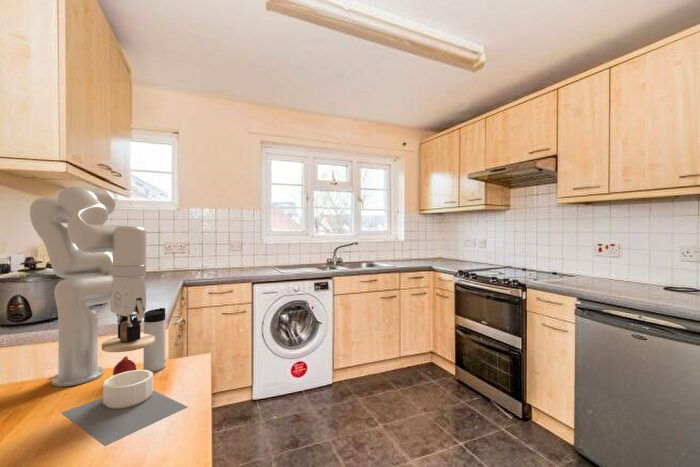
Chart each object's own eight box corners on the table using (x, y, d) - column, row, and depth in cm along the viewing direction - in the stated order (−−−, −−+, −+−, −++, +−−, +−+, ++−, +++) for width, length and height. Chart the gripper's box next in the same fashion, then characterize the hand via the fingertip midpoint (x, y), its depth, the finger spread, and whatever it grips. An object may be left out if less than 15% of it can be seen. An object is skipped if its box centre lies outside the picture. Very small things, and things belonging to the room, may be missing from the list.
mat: (61, 415, 83) (61, 412, 83) (140, 386, 99) (140, 384, 99) (105, 448, 70) (105, 445, 70) (187, 409, 86) (187, 406, 86)
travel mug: (170, 367, 112) (170, 308, 112) (153, 375, 106) (153, 313, 106) (156, 365, 114) (156, 307, 114) (138, 372, 108) (139, 311, 108)
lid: (93, 346, 88) (93, 323, 88) (141, 334, 99) (141, 314, 99) (114, 355, 82) (114, 331, 82) (163, 342, 92) (163, 320, 92)
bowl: (96, 401, 89) (96, 380, 89) (140, 385, 98) (140, 366, 98) (115, 413, 83) (116, 391, 83) (160, 395, 92) (160, 375, 92)
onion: (124, 388, 97) (124, 361, 97) (108, 386, 98) (108, 359, 98) (140, 379, 103) (140, 354, 103) (124, 378, 104) (125, 352, 104)
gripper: (99, 270, 91) (99, 337, 92) (129, 275, 83) (129, 349, 83) (129, 268, 98) (128, 330, 98) (160, 272, 89) (159, 340, 89)
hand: (129, 338), depth 90 cm, fingers closed on lid, 4 cm apart
